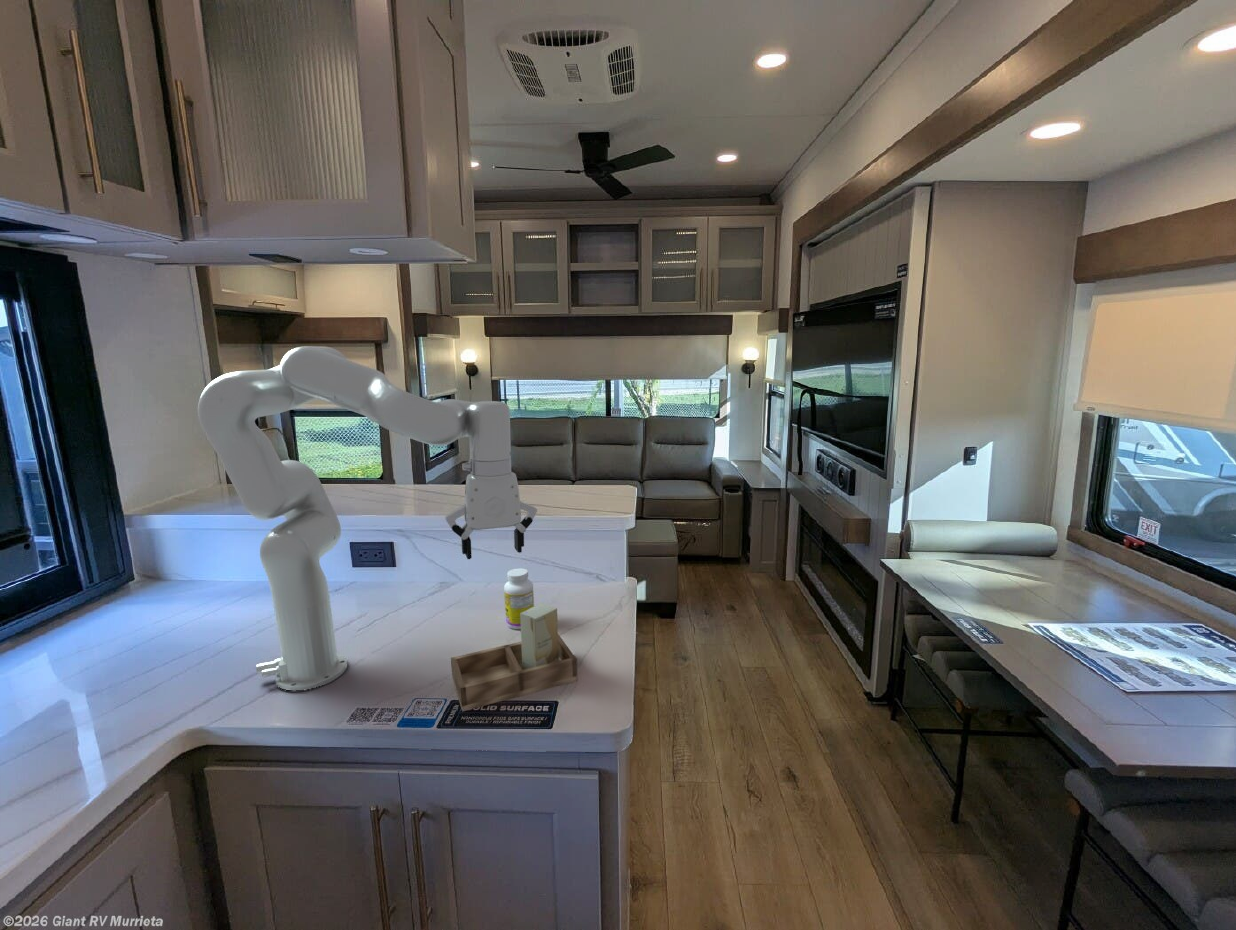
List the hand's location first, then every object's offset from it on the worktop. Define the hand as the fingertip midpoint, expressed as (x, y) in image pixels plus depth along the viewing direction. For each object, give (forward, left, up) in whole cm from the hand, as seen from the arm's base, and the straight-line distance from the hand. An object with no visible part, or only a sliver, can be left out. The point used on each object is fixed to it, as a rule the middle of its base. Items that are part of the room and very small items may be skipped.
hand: (493, 553), depth 110 cm
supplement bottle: (+8, +16, -24) cm, 30 cm away
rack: (+1, -6, -24) cm, 25 cm away
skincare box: (+7, -6, -23) cm, 25 cm away
